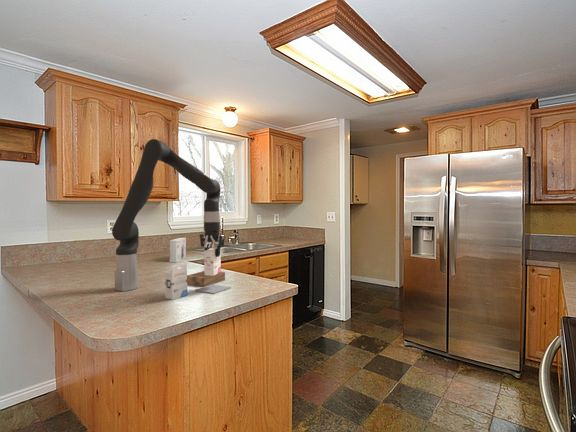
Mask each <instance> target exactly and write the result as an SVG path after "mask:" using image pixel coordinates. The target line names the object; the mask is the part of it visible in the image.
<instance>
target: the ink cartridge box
mask: <svg viewBox="0 0 576 432" xmlns="http://www.w3.org/2000/svg"><path fill="white" fill-rule="evenodd" d="M217 246H218V245H217ZM211 247H212V248H209V250H205V249H204V250H203V261H204V262H203V263H204V265H203V266H204V271H205V275H210V276H214V275H216V274H218V273H220V272H222V267H221V265H222V264H221V259H222V258H221V253H220V256H219V257H216V256H215V249H216V248H215V245H214V244H213V243H212V246H211Z"/></svg>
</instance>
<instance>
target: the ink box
mask: <svg viewBox="0 0 576 432" xmlns="http://www.w3.org/2000/svg"><path fill="white" fill-rule="evenodd" d="M179 267H180V268H179ZM187 268H188V267H187V263H186V262H185V263H179V264H175V265H172V266H171V270H169V271H164V293H165V295H164V297H165V299H167V300H171V301H174V300H177V299H180V298H183V297H187V296H188V295H189V294H188V293H189V292H188V284H187V275H188V269H187Z"/></svg>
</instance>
